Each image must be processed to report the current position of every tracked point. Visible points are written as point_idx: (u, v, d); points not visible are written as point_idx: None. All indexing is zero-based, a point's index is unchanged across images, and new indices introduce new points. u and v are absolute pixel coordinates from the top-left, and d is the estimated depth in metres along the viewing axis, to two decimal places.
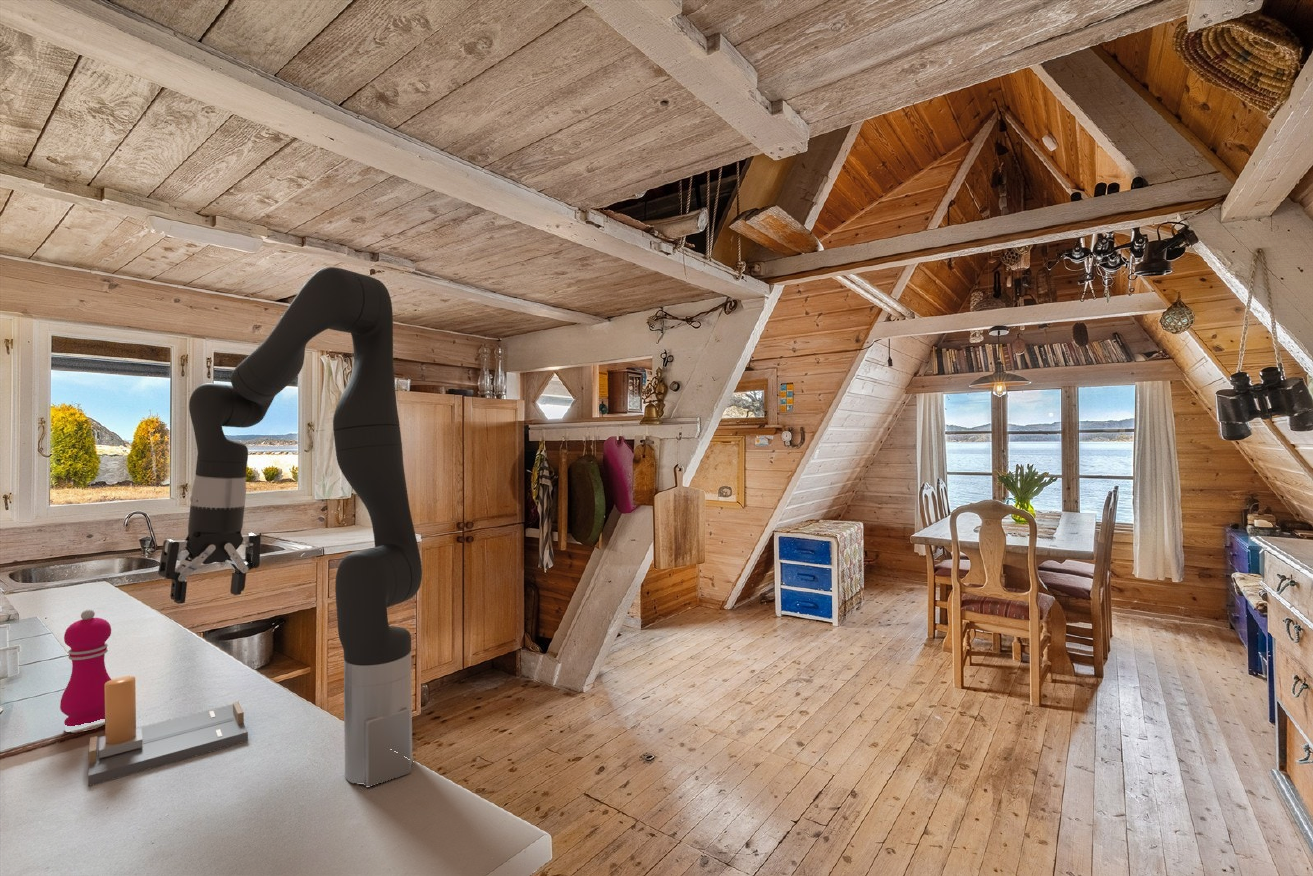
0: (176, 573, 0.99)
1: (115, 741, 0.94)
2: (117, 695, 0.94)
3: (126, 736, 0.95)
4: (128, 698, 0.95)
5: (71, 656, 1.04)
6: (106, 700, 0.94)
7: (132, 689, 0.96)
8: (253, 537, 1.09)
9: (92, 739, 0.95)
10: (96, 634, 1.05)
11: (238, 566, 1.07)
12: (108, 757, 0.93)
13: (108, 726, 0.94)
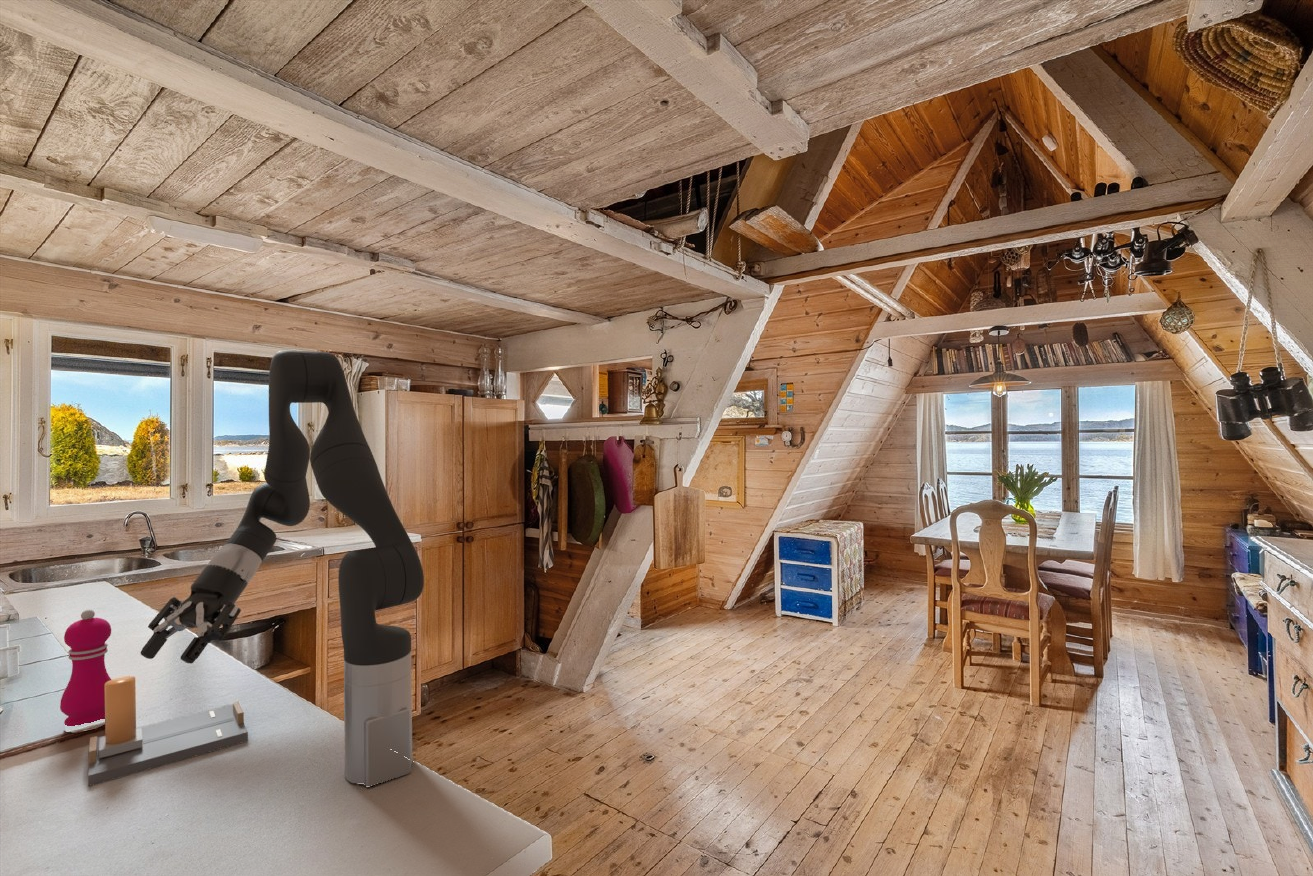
0: None
1: (115, 741, 0.94)
2: (117, 695, 0.94)
3: (126, 736, 0.95)
4: (128, 698, 0.95)
5: (71, 656, 1.04)
6: (106, 700, 0.94)
7: (132, 689, 0.96)
8: (226, 604, 1.07)
9: (92, 739, 0.95)
10: (96, 634, 1.05)
11: (198, 628, 1.04)
12: (108, 757, 0.93)
13: (108, 726, 0.94)
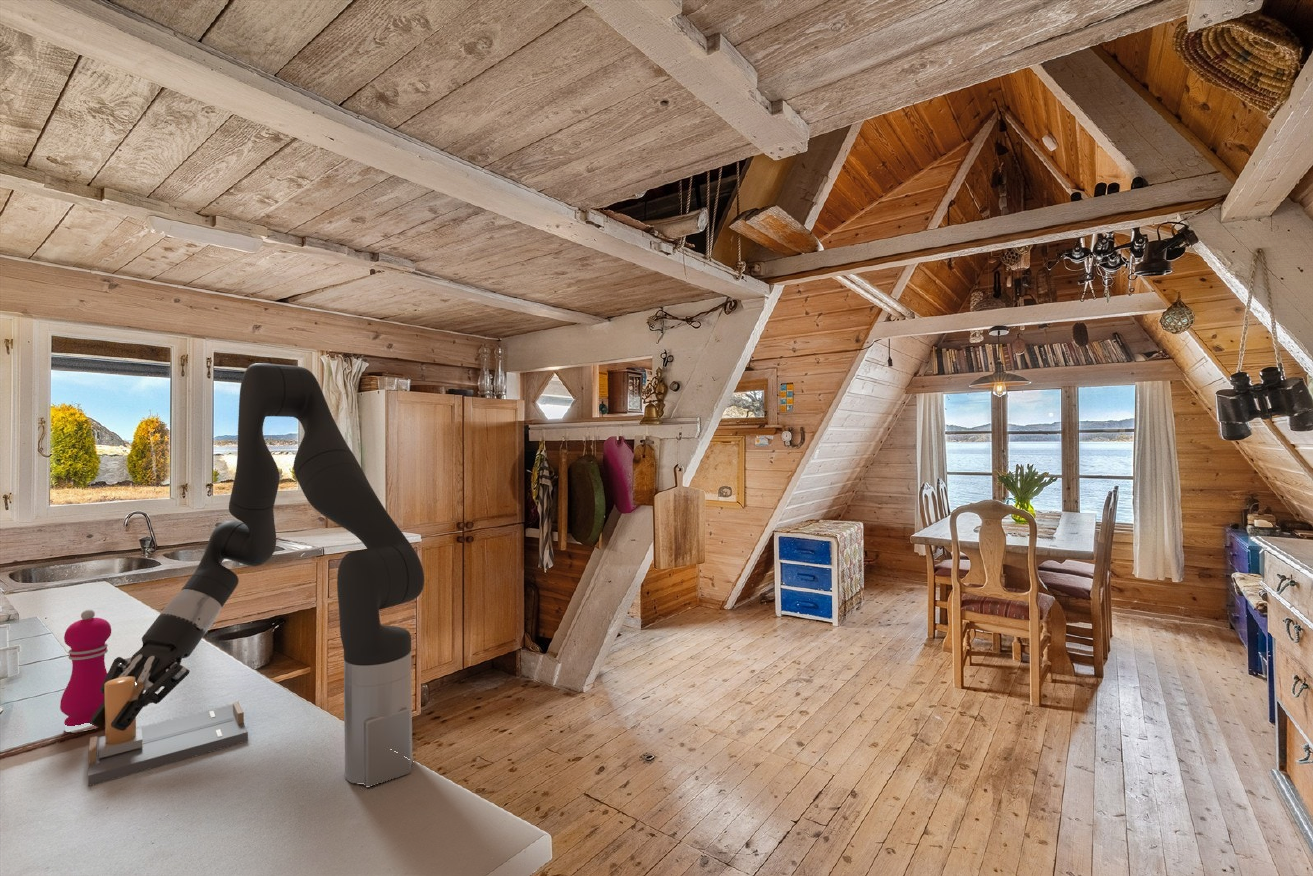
0: None
1: (115, 741, 0.94)
2: (117, 695, 0.94)
3: (126, 736, 0.95)
4: (128, 698, 0.95)
5: (71, 656, 1.04)
6: (106, 700, 0.94)
7: (132, 689, 0.96)
8: (174, 664, 0.98)
9: (92, 739, 0.95)
10: (96, 634, 1.05)
11: (136, 689, 0.96)
12: (108, 757, 0.93)
13: (108, 726, 0.94)
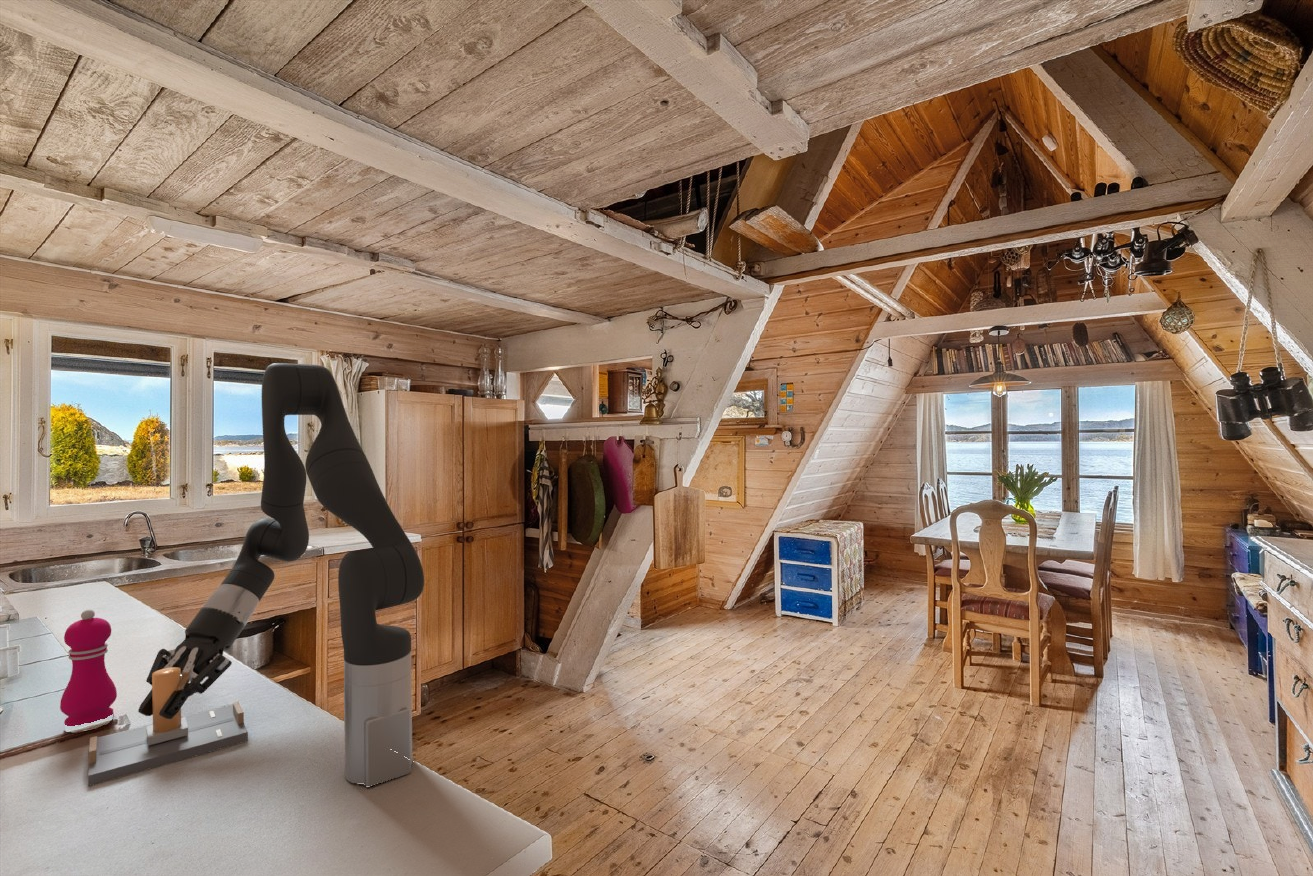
0: None
1: (162, 729, 0.98)
2: (164, 684, 0.98)
3: (172, 724, 0.99)
4: (175, 688, 0.99)
5: (71, 656, 1.04)
6: (154, 690, 0.98)
7: (178, 679, 1.00)
8: (217, 655, 1.02)
9: (92, 739, 0.95)
10: (96, 634, 1.05)
11: (182, 679, 1.00)
12: (108, 757, 0.93)
13: (156, 715, 0.98)
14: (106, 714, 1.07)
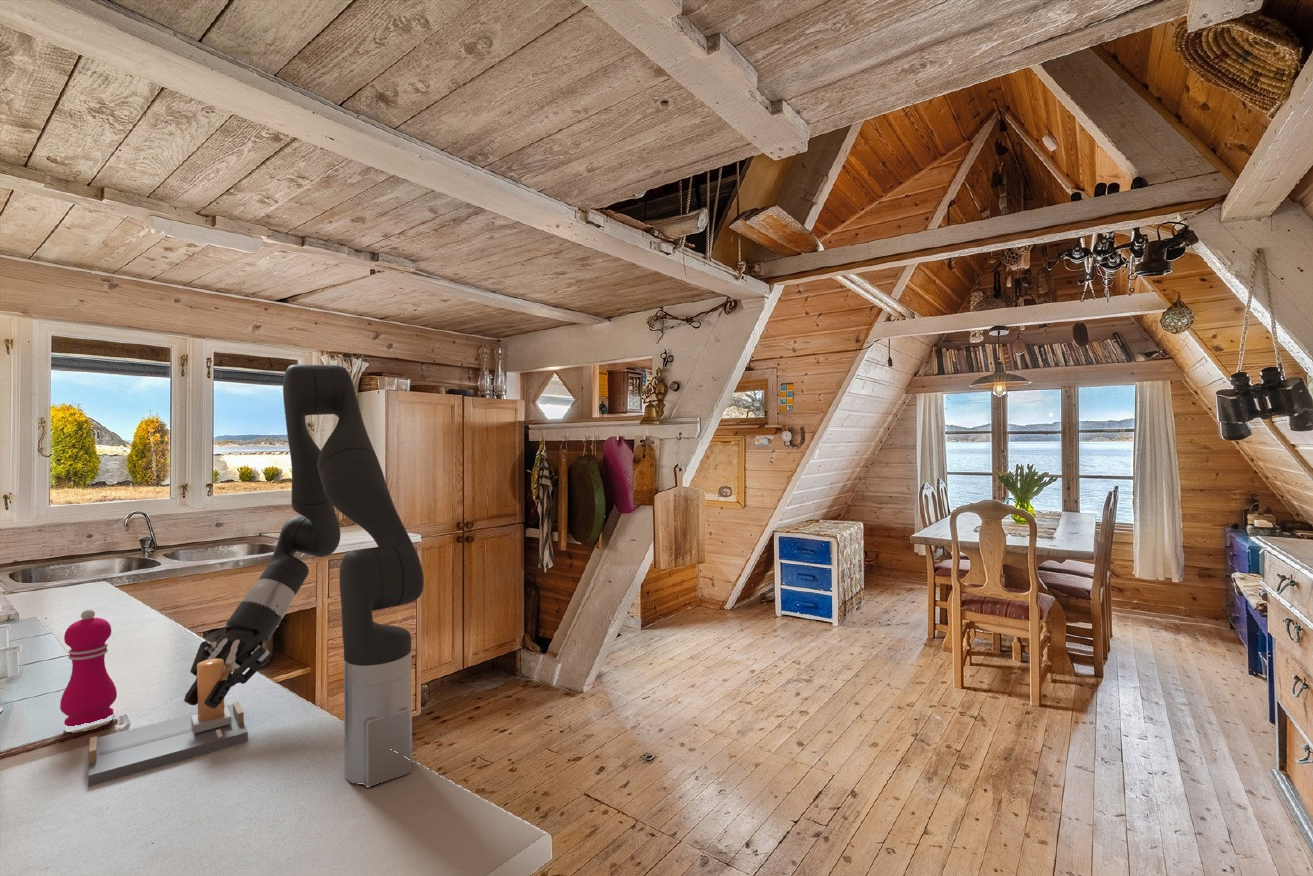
0: None
1: (207, 718, 1.02)
2: (209, 675, 1.02)
3: (217, 713, 1.03)
4: (219, 678, 1.03)
5: (71, 656, 1.04)
6: (199, 680, 1.02)
7: (221, 670, 1.03)
8: (258, 647, 1.06)
9: (92, 739, 0.95)
10: (96, 634, 1.05)
11: (225, 670, 1.04)
12: (108, 757, 0.93)
13: (201, 704, 1.02)
14: (106, 714, 1.07)
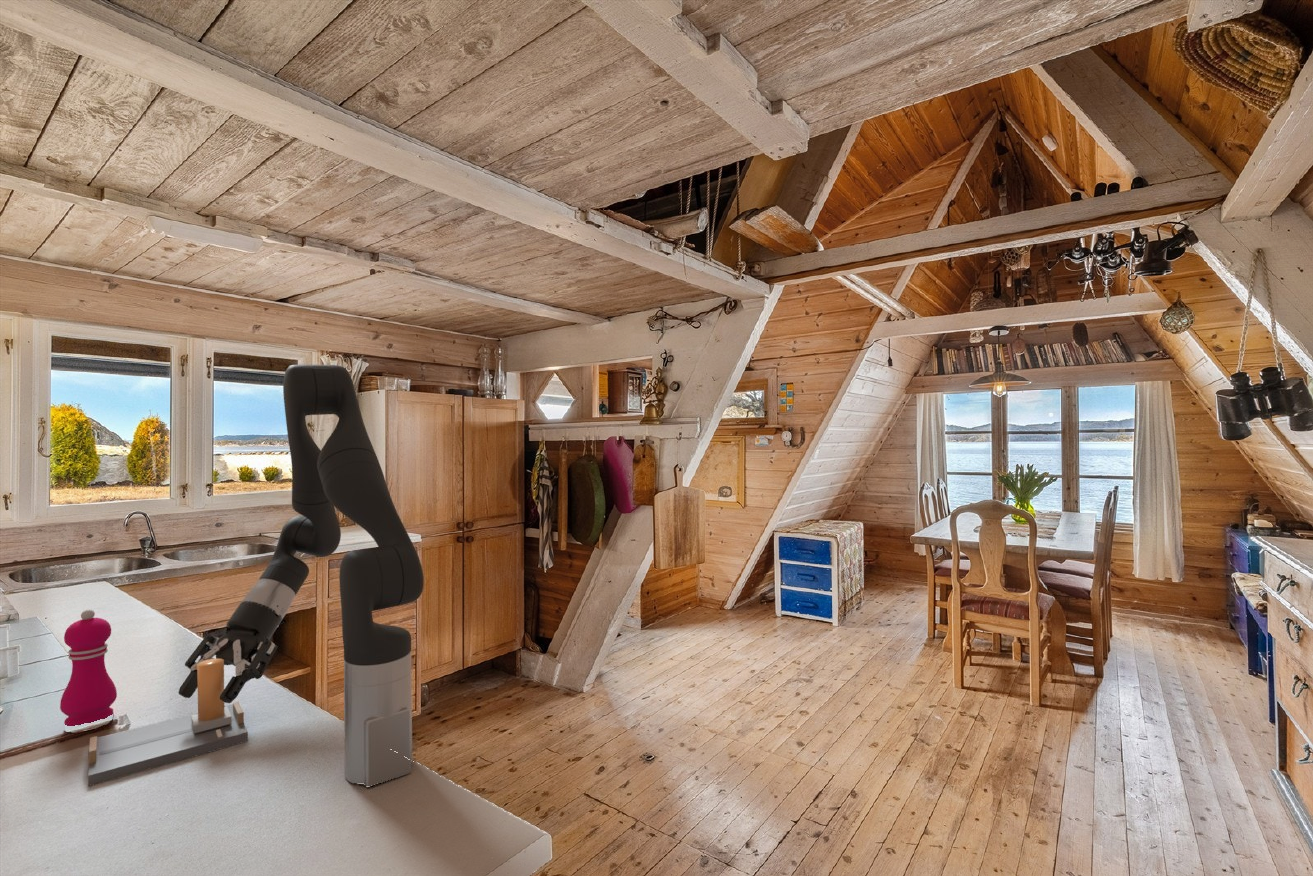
0: None
1: (207, 718, 1.02)
2: (209, 675, 1.02)
3: (217, 713, 1.03)
4: (219, 678, 1.03)
5: (71, 656, 1.04)
6: (199, 680, 1.02)
7: (222, 670, 1.03)
8: (263, 641, 1.07)
9: (92, 739, 0.95)
10: (96, 634, 1.05)
11: (236, 667, 1.04)
12: (108, 757, 0.93)
13: (201, 704, 1.02)
14: (106, 714, 1.07)
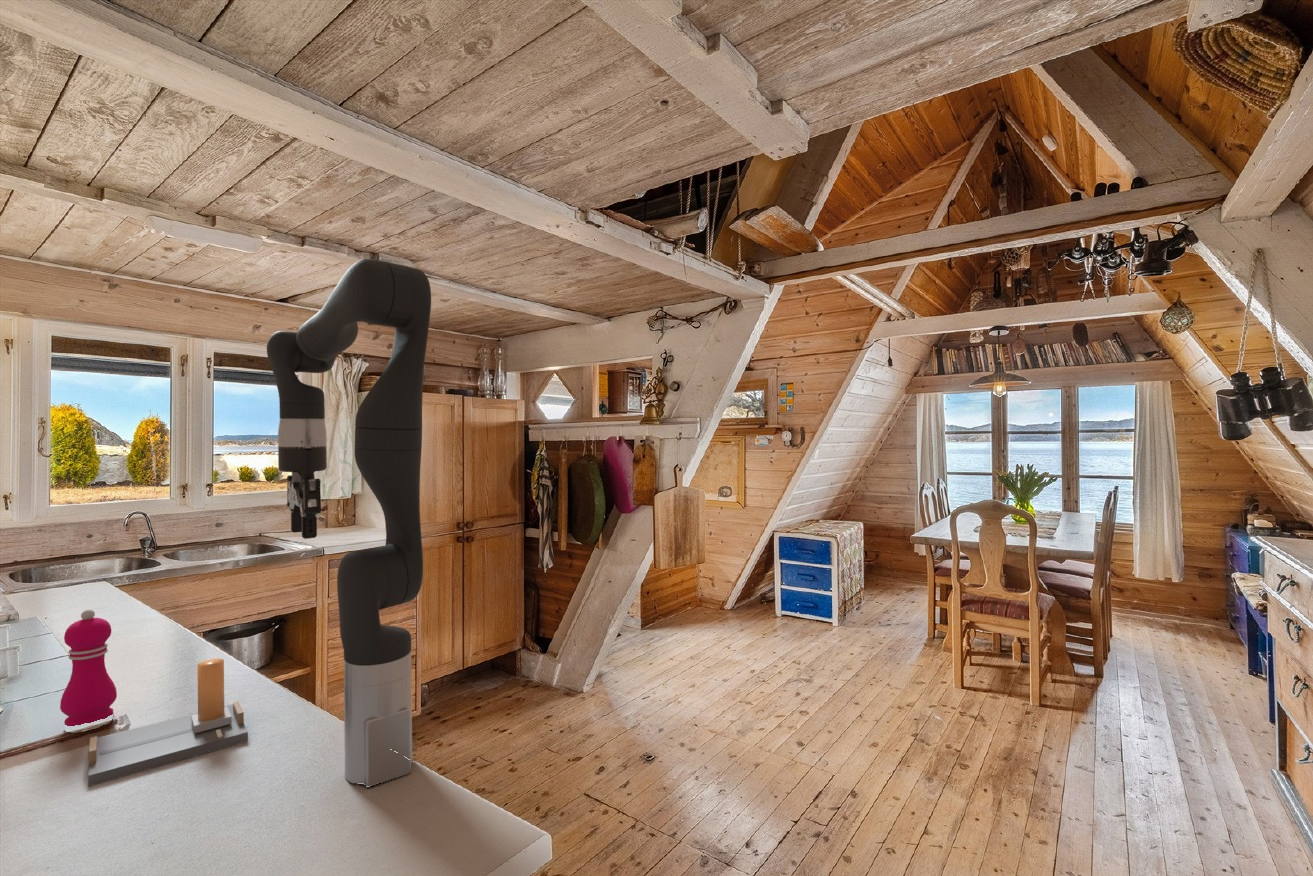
0: None
1: (207, 718, 1.02)
2: (209, 675, 1.02)
3: (217, 713, 1.03)
4: (219, 678, 1.03)
5: (71, 656, 1.04)
6: (199, 680, 1.02)
7: (222, 670, 1.03)
8: (303, 481, 1.05)
9: (92, 739, 0.95)
10: (96, 634, 1.05)
11: (300, 508, 1.07)
12: (108, 757, 0.93)
13: (201, 704, 1.02)
14: (106, 714, 1.07)
